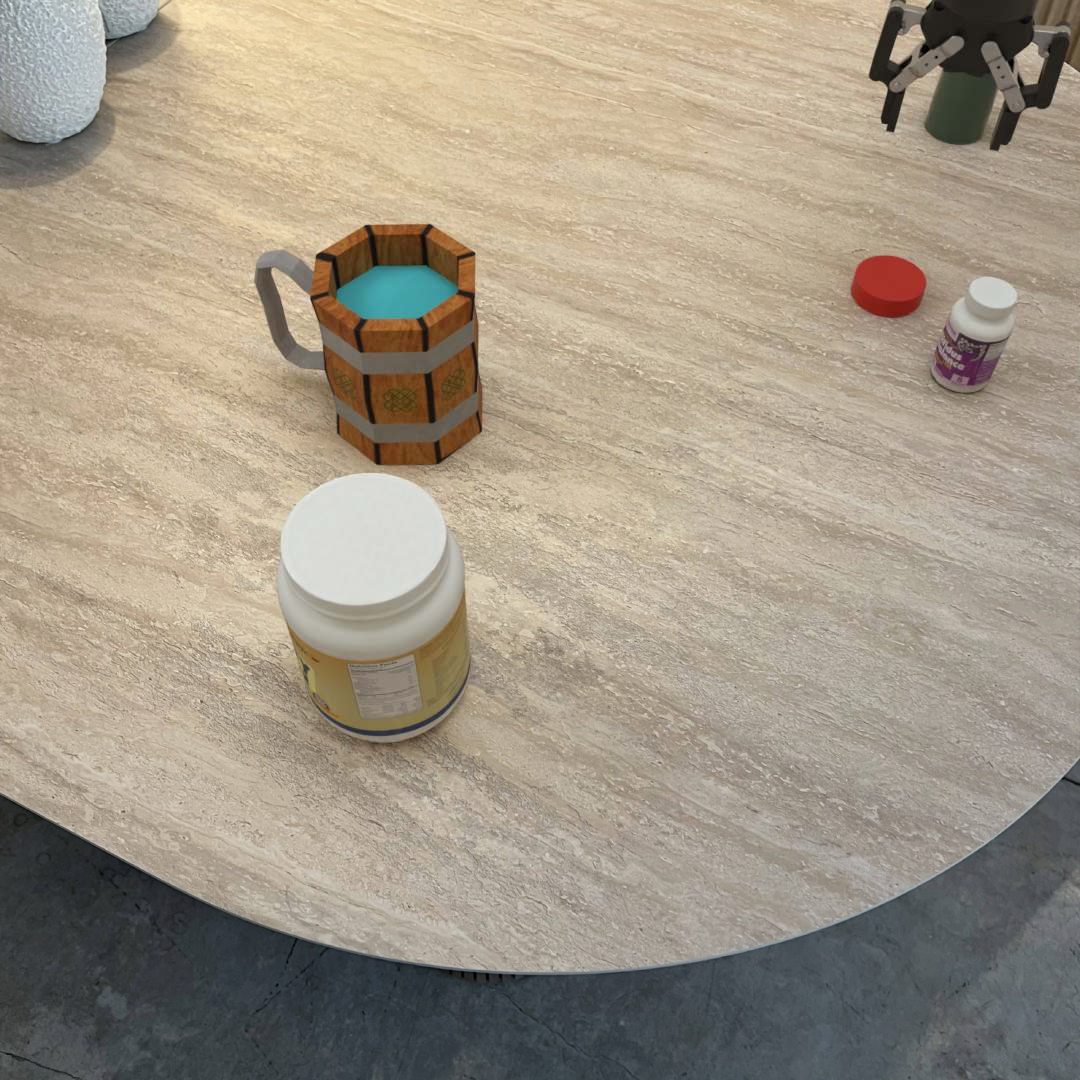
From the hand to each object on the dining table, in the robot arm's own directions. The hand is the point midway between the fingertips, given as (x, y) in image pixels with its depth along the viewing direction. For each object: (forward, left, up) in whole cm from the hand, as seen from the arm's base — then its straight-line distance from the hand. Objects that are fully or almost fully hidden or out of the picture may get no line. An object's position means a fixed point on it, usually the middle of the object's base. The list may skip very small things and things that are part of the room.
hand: (942, 136), depth 96 cm
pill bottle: (-6, +10, -18) cm, 21 cm away
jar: (-8, -29, -17) cm, 35 cm away
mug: (+45, +21, -18) cm, 53 cm away
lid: (+1, 0, -16) cm, 16 cm away
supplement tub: (+38, +48, -17) cm, 64 cm away
